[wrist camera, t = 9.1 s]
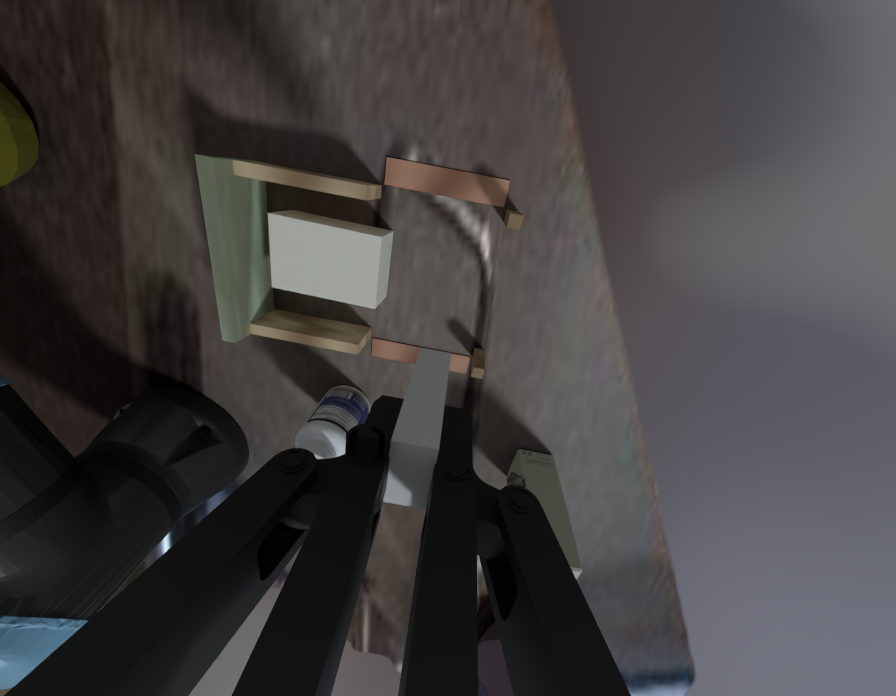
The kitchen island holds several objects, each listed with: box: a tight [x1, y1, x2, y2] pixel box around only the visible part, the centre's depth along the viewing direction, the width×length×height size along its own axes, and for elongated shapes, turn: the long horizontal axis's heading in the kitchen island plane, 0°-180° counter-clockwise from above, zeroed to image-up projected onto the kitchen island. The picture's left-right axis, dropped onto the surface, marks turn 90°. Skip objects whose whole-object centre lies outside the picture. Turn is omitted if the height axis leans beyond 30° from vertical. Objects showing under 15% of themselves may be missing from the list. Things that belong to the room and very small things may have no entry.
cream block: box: [268, 210, 393, 309], centre depth 29 cm, size 9×6×4 cm, turn 79°
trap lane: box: [195, 154, 524, 379], centre depth 28 cm, size 23×18×6 cm
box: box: [507, 449, 582, 580], centre depth 34 cm, size 5×4×13 cm
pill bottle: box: [295, 385, 370, 459], centre depth 34 cm, size 5×5×10 cm
